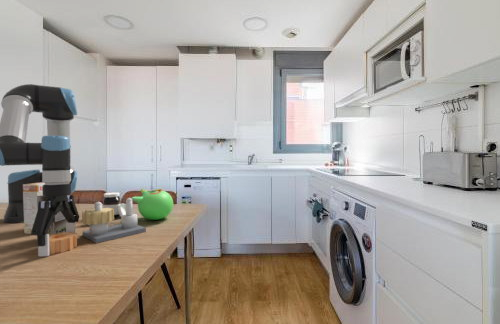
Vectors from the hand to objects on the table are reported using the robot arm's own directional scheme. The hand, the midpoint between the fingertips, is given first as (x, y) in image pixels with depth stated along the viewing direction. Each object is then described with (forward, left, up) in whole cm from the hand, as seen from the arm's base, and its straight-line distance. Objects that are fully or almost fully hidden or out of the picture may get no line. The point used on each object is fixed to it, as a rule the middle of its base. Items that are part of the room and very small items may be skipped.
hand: (58, 248), depth 85 cm
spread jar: (-31, +31, 0) cm, 44 cm away
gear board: (-3, +19, 0) cm, 19 cm away
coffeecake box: (-31, +4, 0) cm, 31 cm away
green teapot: (-12, +41, 0) cm, 43 cm away
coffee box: (-14, +2, 0) cm, 14 cm away
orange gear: (0, 0, 0) cm, 0 cm away
